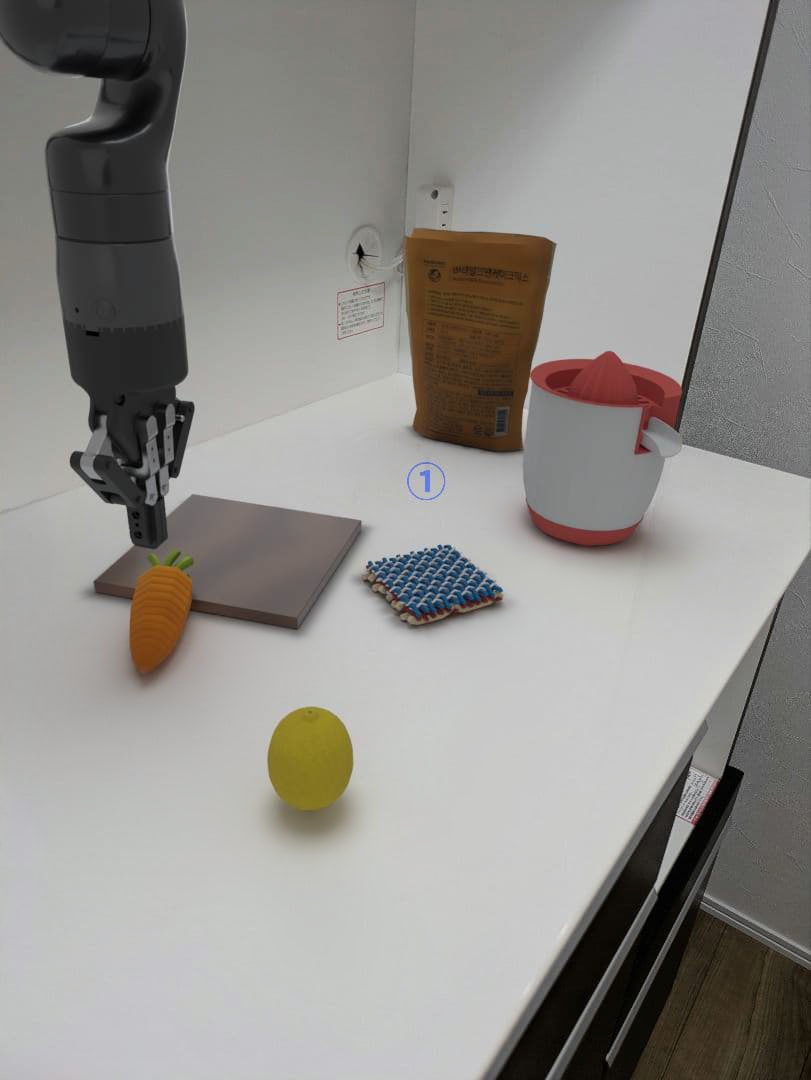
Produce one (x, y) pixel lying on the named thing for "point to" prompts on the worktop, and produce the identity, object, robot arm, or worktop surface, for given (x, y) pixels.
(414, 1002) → the worktop surface
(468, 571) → the woven mat
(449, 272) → the pancake mix bag
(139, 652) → the carrot
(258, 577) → the walnut board
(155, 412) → the robot arm
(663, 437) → the citrus juicer
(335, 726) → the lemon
